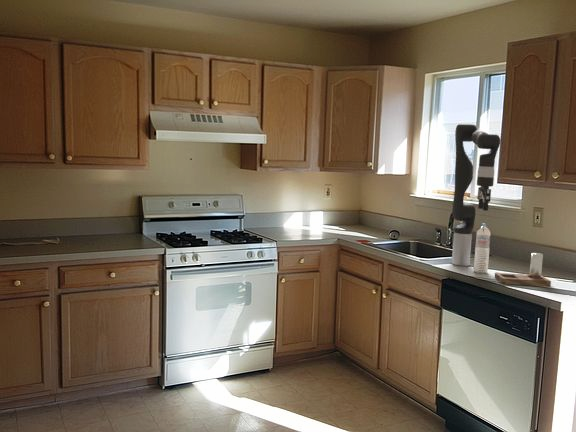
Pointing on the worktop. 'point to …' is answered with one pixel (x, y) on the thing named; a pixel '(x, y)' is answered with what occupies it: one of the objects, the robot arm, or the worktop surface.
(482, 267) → the water bottle
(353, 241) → the worktop surface
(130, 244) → the worktop surface
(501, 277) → the wooden tray
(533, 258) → the peg
